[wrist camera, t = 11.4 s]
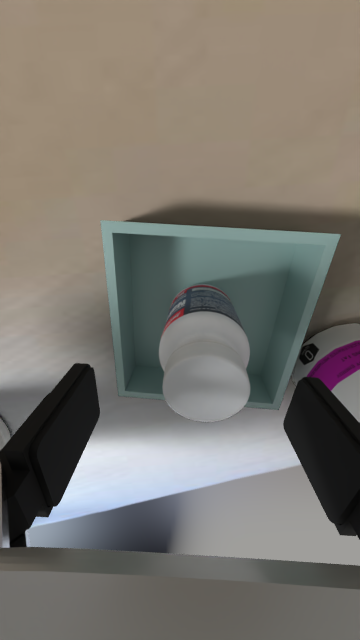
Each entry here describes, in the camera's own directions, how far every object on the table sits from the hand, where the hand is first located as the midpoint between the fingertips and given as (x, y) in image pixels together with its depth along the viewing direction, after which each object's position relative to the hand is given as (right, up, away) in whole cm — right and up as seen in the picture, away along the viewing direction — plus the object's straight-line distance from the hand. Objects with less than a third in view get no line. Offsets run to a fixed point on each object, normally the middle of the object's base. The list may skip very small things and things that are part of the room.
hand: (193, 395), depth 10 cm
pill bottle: (+1, +4, +8) cm, 9 cm away
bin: (+1, +4, +8) cm, 9 cm away
